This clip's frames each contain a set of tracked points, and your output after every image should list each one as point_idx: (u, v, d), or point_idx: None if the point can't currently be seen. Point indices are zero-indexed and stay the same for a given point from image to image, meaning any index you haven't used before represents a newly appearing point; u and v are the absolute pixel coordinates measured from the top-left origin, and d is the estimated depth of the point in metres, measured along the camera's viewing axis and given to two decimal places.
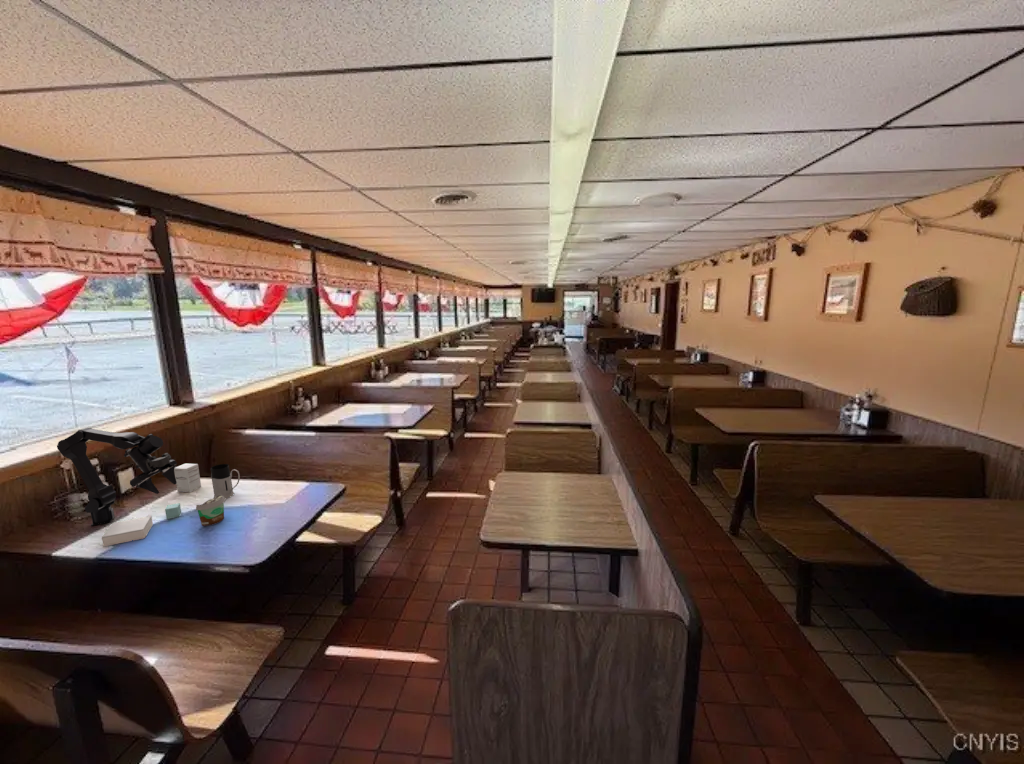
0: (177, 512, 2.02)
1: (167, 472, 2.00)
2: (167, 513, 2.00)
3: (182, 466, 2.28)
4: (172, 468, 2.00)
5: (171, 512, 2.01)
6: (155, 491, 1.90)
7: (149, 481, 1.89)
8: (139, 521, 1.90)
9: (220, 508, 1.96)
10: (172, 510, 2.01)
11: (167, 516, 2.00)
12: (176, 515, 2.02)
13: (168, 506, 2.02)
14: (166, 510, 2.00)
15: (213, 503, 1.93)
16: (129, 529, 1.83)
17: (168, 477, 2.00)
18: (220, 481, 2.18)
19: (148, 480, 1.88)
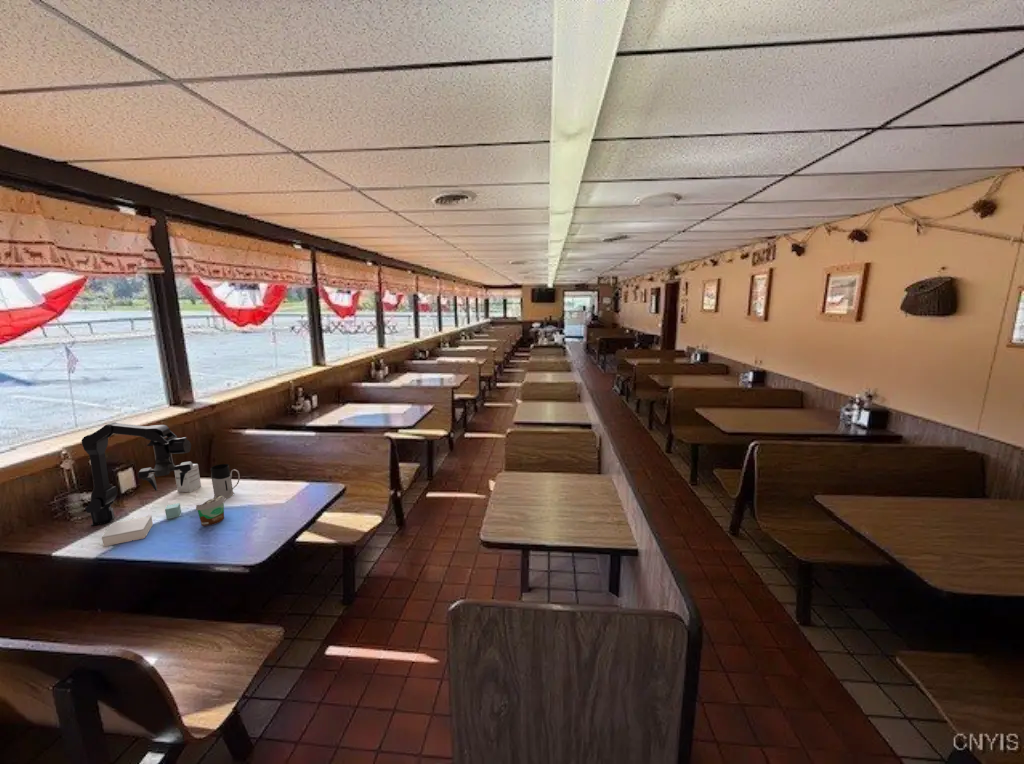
0: (177, 512, 2.02)
1: None
2: (167, 513, 2.00)
3: None
4: (181, 473, 2.00)
5: (171, 512, 2.01)
6: None
7: (148, 480, 1.96)
8: (139, 521, 1.90)
9: (220, 508, 1.96)
10: (172, 510, 2.01)
11: (167, 516, 2.00)
12: (176, 515, 2.02)
13: (168, 506, 2.02)
14: (166, 510, 2.00)
15: (213, 503, 1.93)
16: (129, 529, 1.83)
17: None
18: (220, 481, 2.18)
19: (146, 479, 1.95)
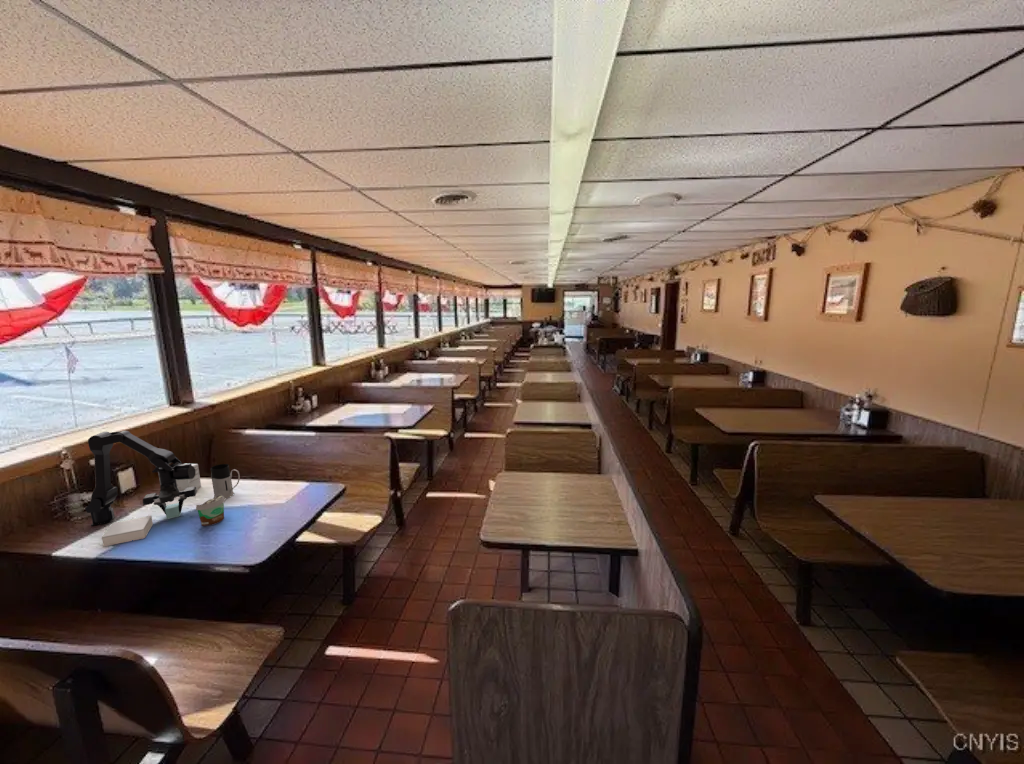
0: (177, 512, 2.02)
1: (179, 499, 2.03)
2: (167, 513, 2.00)
3: None
4: (180, 500, 2.01)
5: (171, 511, 2.01)
6: None
7: (159, 505, 1.99)
8: (139, 521, 1.90)
9: (220, 508, 1.96)
10: (172, 509, 2.01)
11: (167, 516, 2.00)
12: (176, 515, 2.02)
13: (168, 506, 2.02)
14: (166, 510, 2.00)
15: (213, 503, 1.93)
16: (129, 529, 1.83)
17: None
18: (220, 481, 2.18)
19: (157, 504, 1.98)
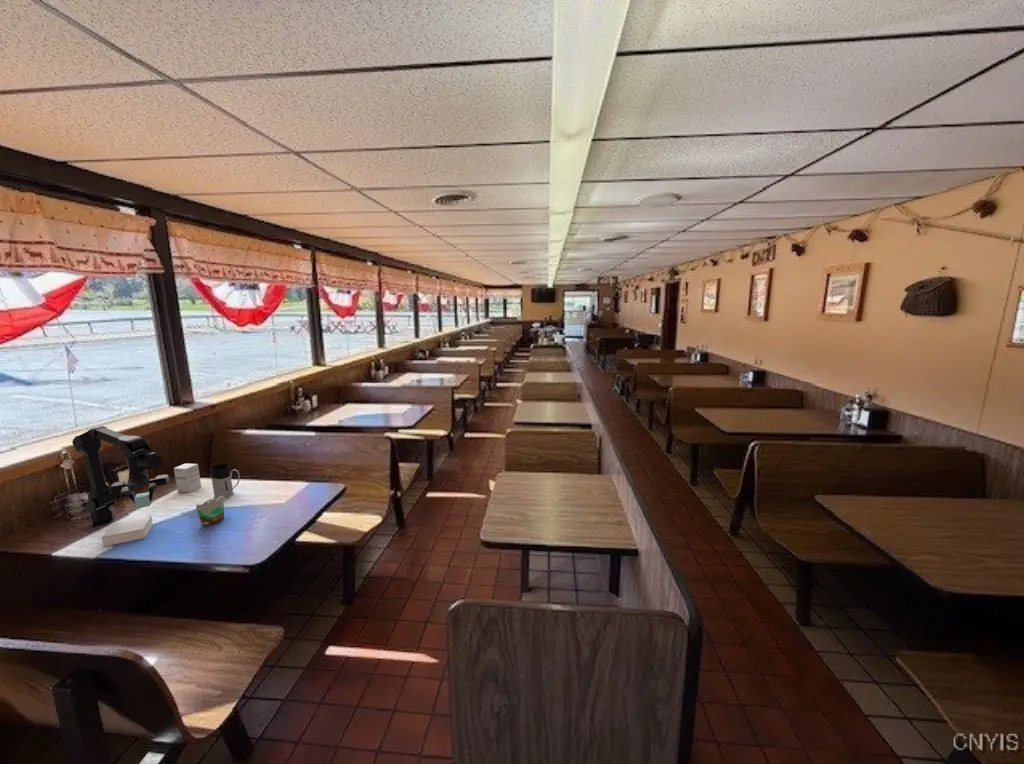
0: (147, 501, 1.90)
1: None
2: (136, 502, 1.89)
3: (182, 466, 2.28)
4: (150, 489, 1.90)
5: (141, 501, 1.89)
6: None
7: (128, 493, 1.87)
8: (139, 521, 1.90)
9: (220, 508, 1.96)
10: (142, 498, 1.89)
11: (136, 505, 1.89)
12: (146, 504, 1.90)
13: (137, 495, 1.90)
14: (135, 499, 1.88)
15: (213, 503, 1.93)
16: (129, 529, 1.83)
17: None
18: (220, 481, 2.18)
19: (126, 493, 1.86)
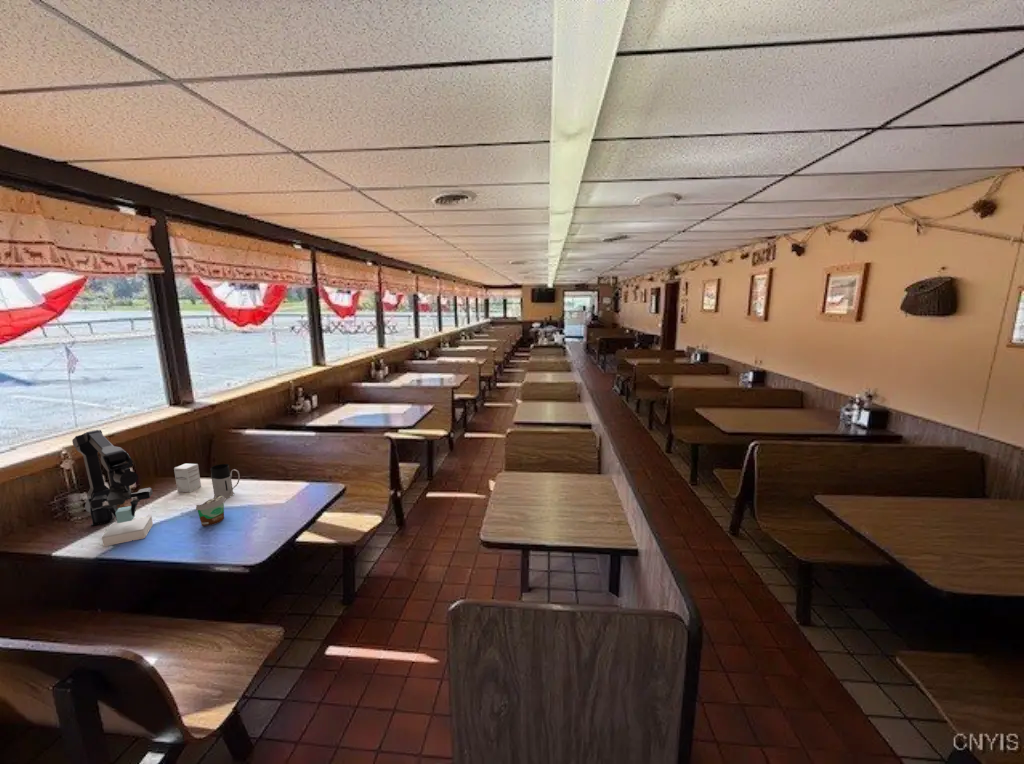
0: (129, 515, 1.84)
1: None
2: (118, 517, 1.83)
3: (182, 466, 2.28)
4: (132, 503, 1.84)
5: (122, 515, 1.83)
6: None
7: (109, 508, 1.81)
8: (139, 521, 1.90)
9: (220, 508, 1.96)
10: (123, 513, 1.83)
11: (118, 520, 1.83)
12: (128, 519, 1.84)
13: (119, 509, 1.84)
14: (117, 513, 1.82)
15: (213, 503, 1.93)
16: (129, 529, 1.83)
17: None
18: (220, 481, 2.18)
19: (107, 507, 1.80)
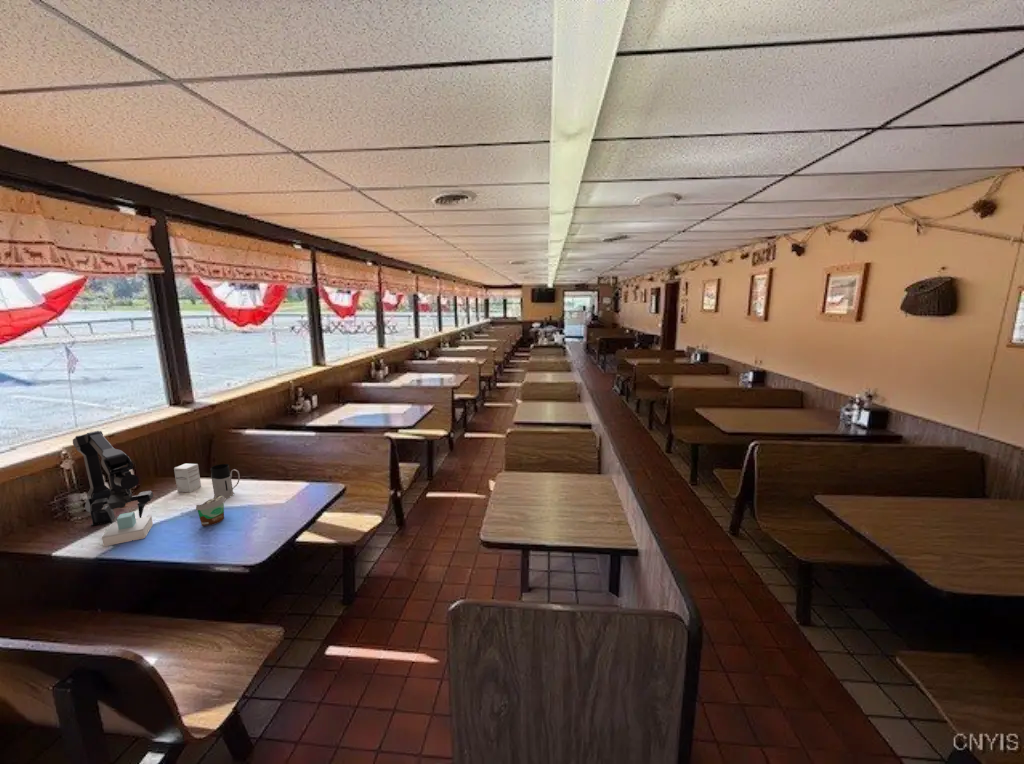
0: (130, 522, 1.85)
1: None
2: (119, 523, 1.83)
3: (182, 466, 2.28)
4: (139, 504, 1.85)
5: (123, 522, 1.84)
6: None
7: (103, 512, 1.81)
8: (139, 521, 1.90)
9: (220, 508, 1.96)
10: (125, 519, 1.84)
11: (119, 526, 1.83)
12: (129, 525, 1.85)
13: (121, 516, 1.85)
14: (118, 520, 1.83)
15: (213, 503, 1.93)
16: (129, 529, 1.83)
17: None
18: (220, 481, 2.18)
19: (100, 511, 1.80)
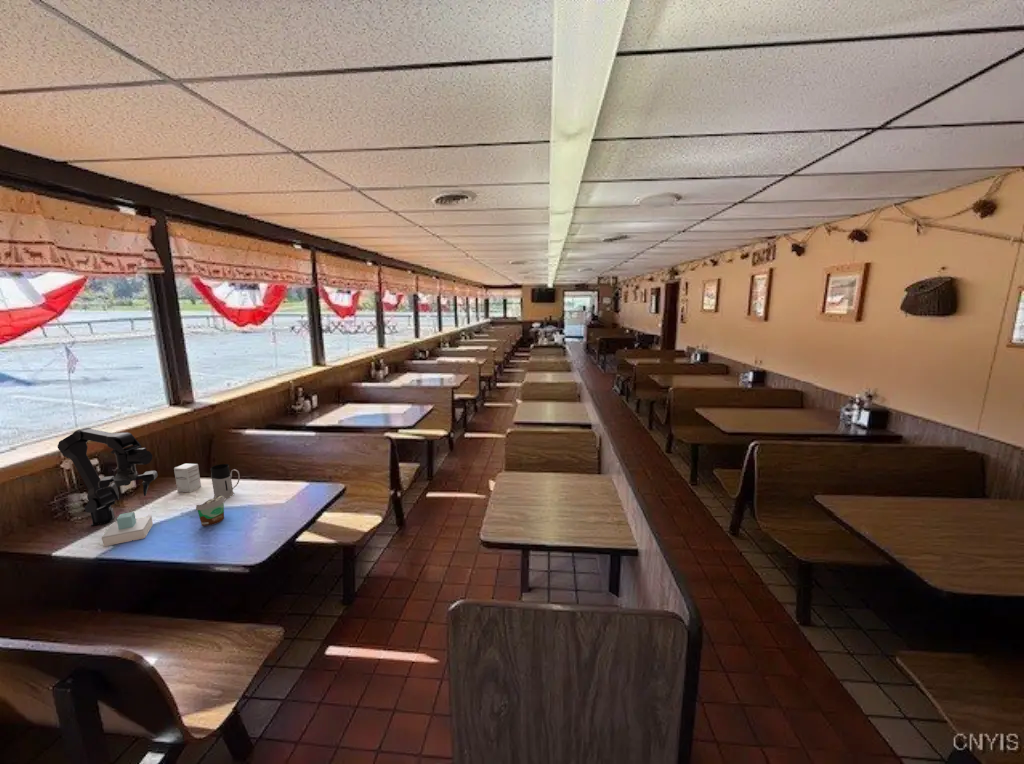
0: (130, 522, 1.85)
1: None
2: (119, 523, 1.83)
3: (182, 466, 2.28)
4: (144, 483, 1.94)
5: (123, 522, 1.84)
6: None
7: (110, 489, 1.90)
8: (139, 521, 1.90)
9: (220, 508, 1.96)
10: (125, 519, 1.84)
11: (119, 526, 1.83)
12: (129, 525, 1.85)
13: (121, 516, 1.85)
14: (118, 520, 1.83)
15: (213, 503, 1.93)
16: (129, 529, 1.83)
17: None
18: (220, 481, 2.18)
19: (107, 488, 1.89)
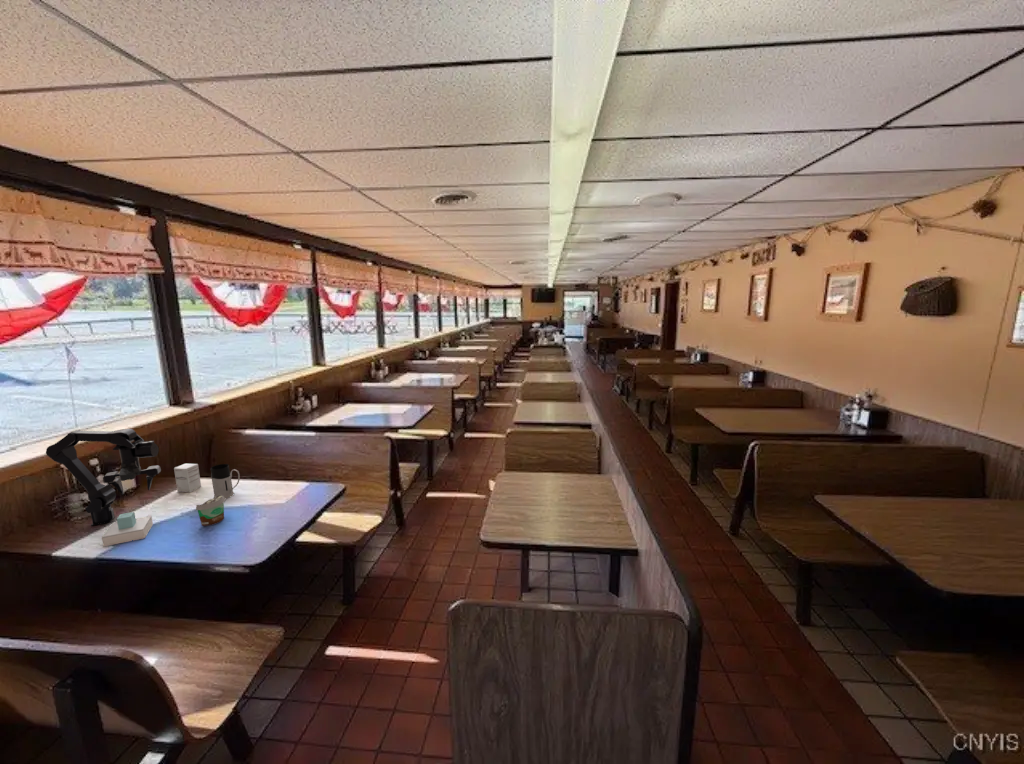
0: (130, 522, 1.85)
1: None
2: (119, 523, 1.83)
3: (182, 466, 2.28)
4: (148, 477, 1.99)
5: (123, 522, 1.84)
6: None
7: (114, 484, 1.95)
8: (139, 521, 1.90)
9: (220, 508, 1.96)
10: (125, 519, 1.84)
11: (119, 526, 1.83)
12: (129, 525, 1.85)
13: (121, 516, 1.85)
14: (118, 520, 1.83)
15: (213, 503, 1.93)
16: (129, 529, 1.83)
17: None
18: (220, 481, 2.18)
19: (112, 483, 1.94)
